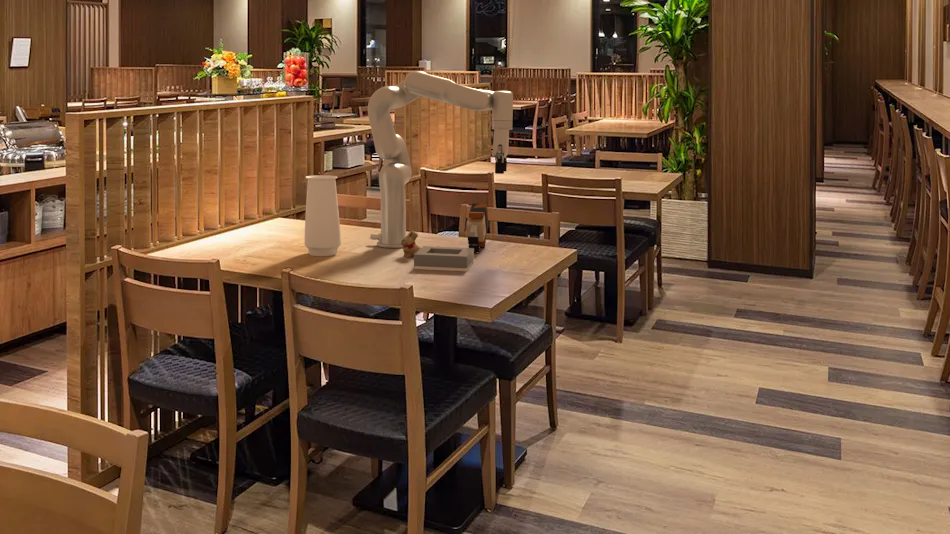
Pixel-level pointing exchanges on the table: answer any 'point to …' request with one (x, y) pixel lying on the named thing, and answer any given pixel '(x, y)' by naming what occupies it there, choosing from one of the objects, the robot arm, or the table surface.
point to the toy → (477, 226)
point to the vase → (322, 216)
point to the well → (444, 258)
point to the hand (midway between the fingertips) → (500, 172)
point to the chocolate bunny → (410, 244)
